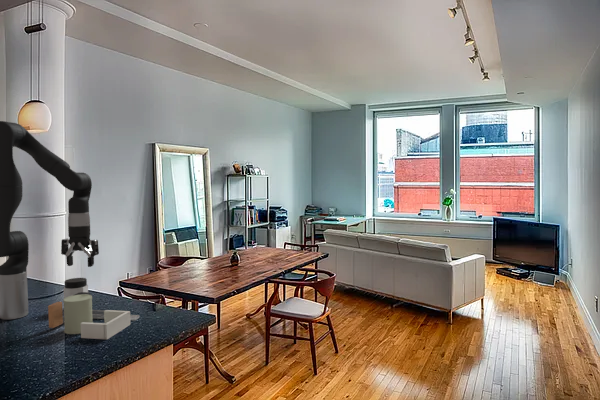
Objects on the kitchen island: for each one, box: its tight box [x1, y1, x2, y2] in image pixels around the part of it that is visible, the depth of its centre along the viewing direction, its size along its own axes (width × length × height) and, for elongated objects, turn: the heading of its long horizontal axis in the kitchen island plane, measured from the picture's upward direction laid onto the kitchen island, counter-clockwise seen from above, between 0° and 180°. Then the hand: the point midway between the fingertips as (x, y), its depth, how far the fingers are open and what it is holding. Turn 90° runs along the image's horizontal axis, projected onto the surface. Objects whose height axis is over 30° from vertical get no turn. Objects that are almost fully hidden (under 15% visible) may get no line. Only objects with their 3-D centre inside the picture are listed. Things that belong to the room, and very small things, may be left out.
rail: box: [92, 314, 140, 322], centre depth 164 cm, size 26×3×1 cm, turn 81°
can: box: [62, 294, 94, 335], centre depth 152 cm, size 9×9×12 cm
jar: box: [63, 277, 89, 299], centre depth 176 cm, size 9×8×12 cm
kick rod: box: [47, 291, 106, 329], centre depth 158 cm, size 12×18×8 cm
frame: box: [80, 309, 131, 340], centre depth 150 cm, size 10×14×5 cm, turn 171°
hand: (80, 266), depth 165 cm, fingers open, 8 cm apart
